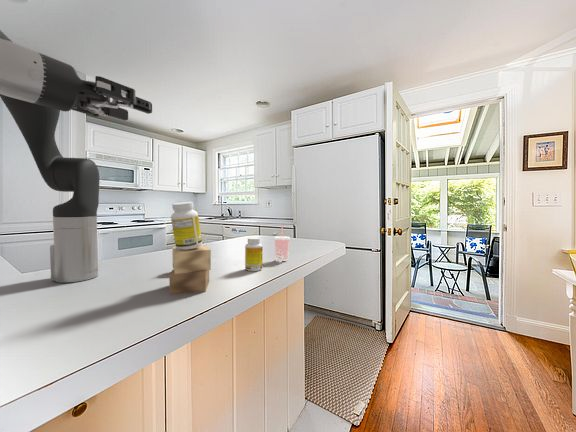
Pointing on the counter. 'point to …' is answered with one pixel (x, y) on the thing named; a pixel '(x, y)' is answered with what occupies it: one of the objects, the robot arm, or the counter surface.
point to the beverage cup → (281, 246)
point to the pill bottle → (186, 226)
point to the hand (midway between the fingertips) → (138, 112)
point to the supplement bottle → (253, 254)
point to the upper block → (191, 259)
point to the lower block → (188, 282)
